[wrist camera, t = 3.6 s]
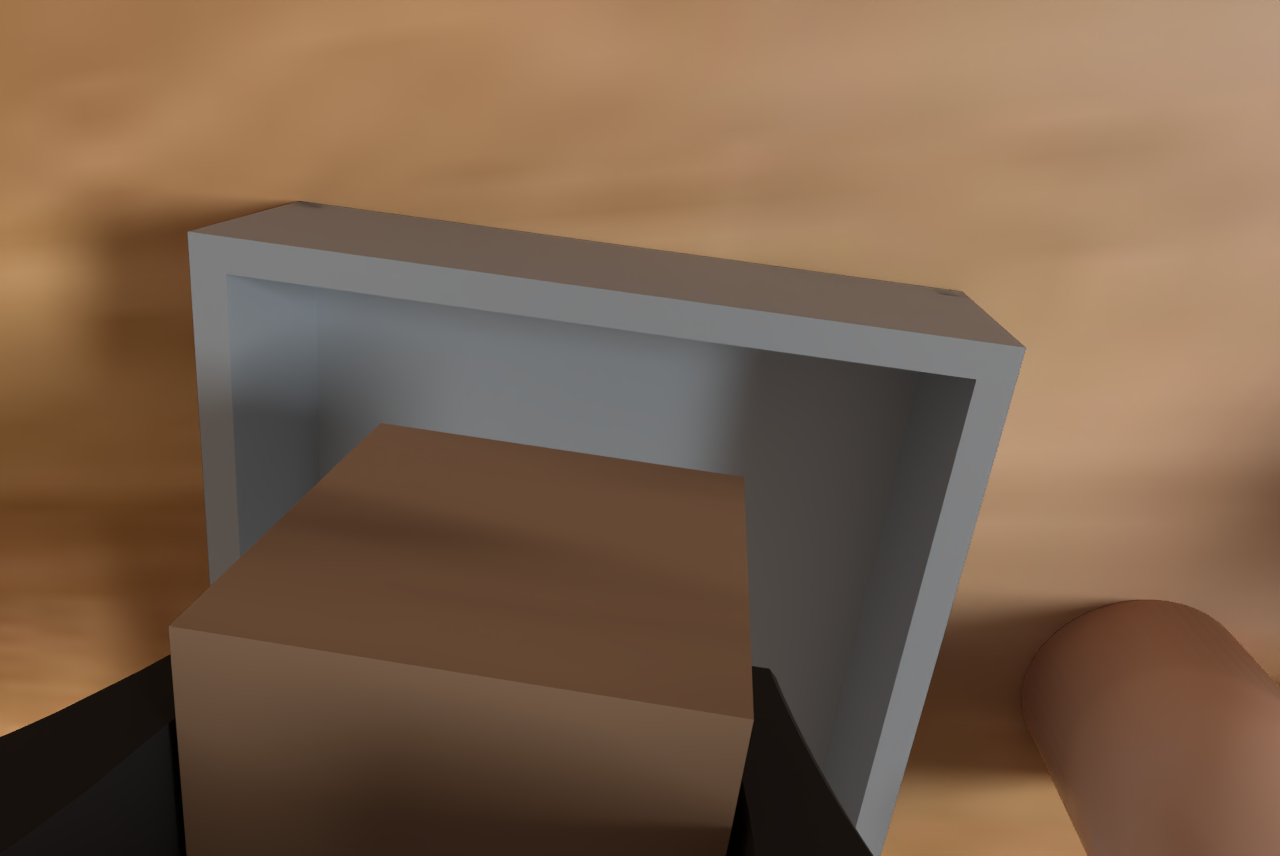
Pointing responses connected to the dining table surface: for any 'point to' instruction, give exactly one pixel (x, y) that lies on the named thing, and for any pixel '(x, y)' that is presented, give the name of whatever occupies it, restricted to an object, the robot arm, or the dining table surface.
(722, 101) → the dining table surface
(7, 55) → the dining table surface
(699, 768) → the walnut cube
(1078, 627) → the terracotta cylinder
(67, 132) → the dining table surface
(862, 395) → the tote
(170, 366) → the dining table surface
